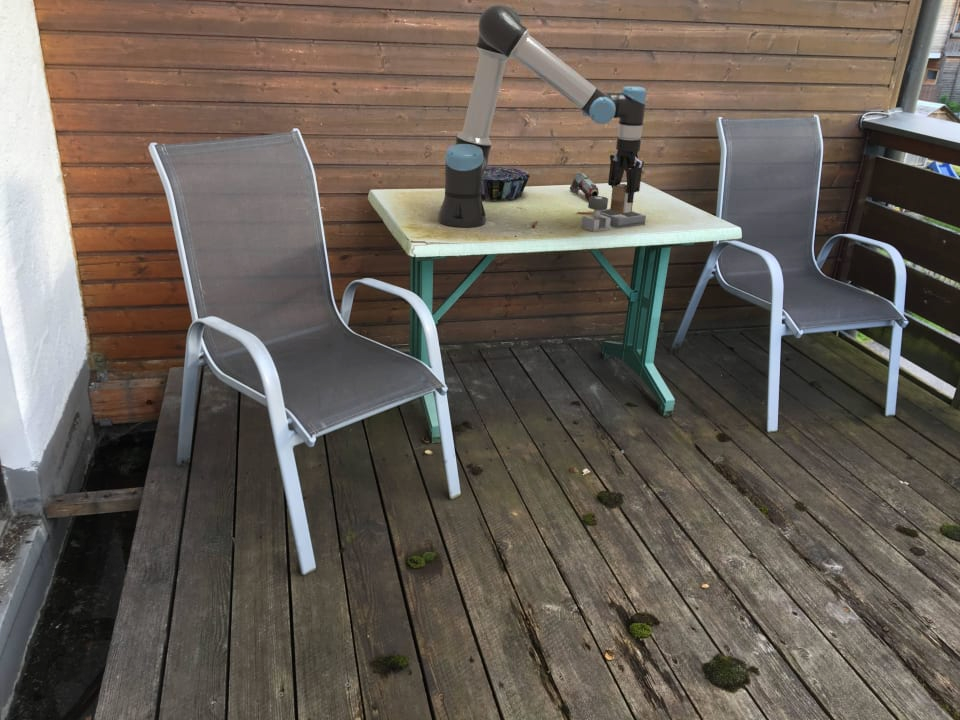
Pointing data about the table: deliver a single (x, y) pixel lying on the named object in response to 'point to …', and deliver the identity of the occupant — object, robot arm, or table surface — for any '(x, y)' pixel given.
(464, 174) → the robot arm
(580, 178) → the toy gun
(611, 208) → the walnut block
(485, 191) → the decorative bowl
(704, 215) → the table surface
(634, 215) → the chassis bay
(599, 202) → the wheel
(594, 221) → the axle mount
